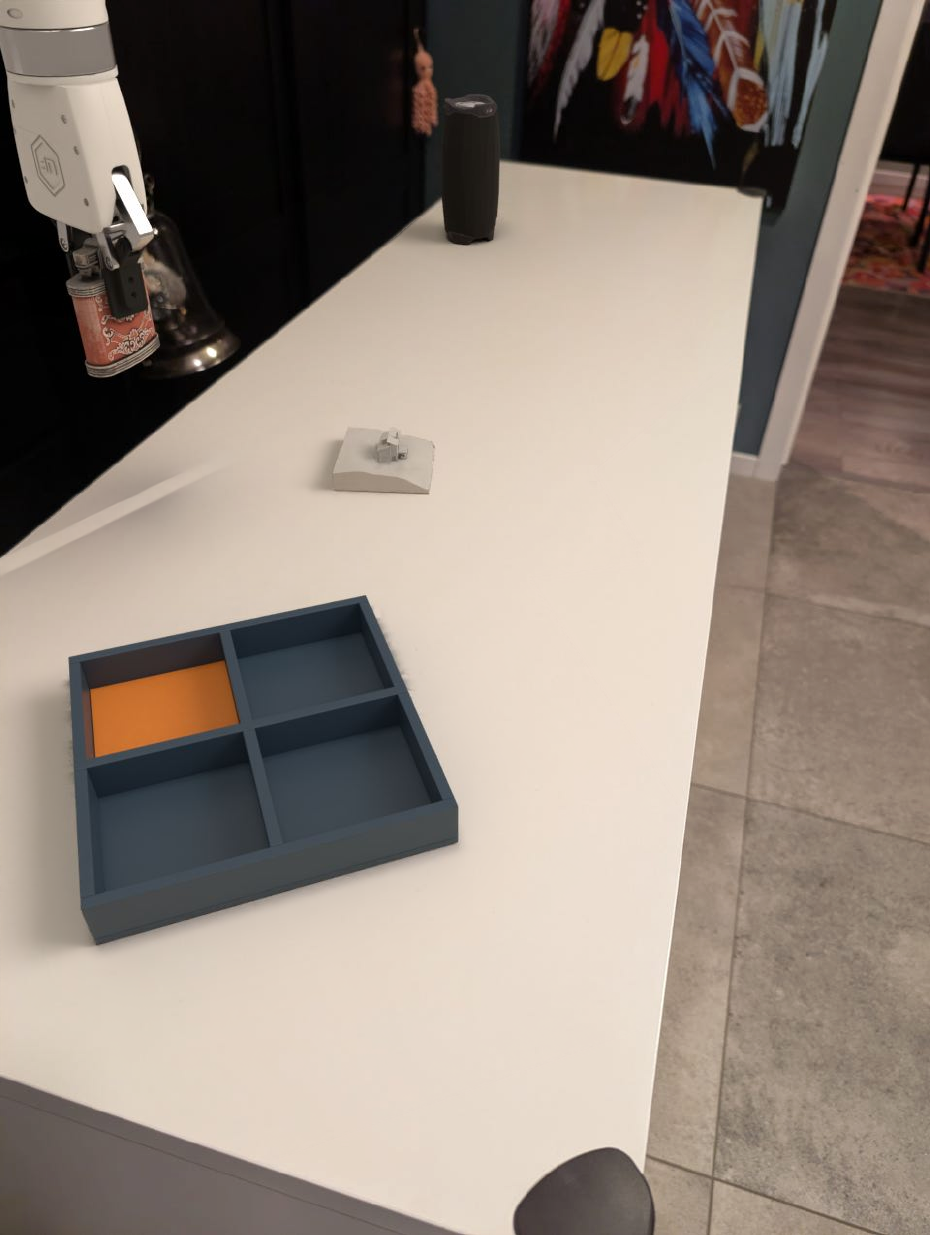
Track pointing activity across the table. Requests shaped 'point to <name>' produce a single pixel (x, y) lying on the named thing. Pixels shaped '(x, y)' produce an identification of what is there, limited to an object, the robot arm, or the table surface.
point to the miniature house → (383, 462)
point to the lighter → (107, 317)
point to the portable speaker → (470, 168)
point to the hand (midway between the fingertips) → (112, 303)
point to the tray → (246, 766)
